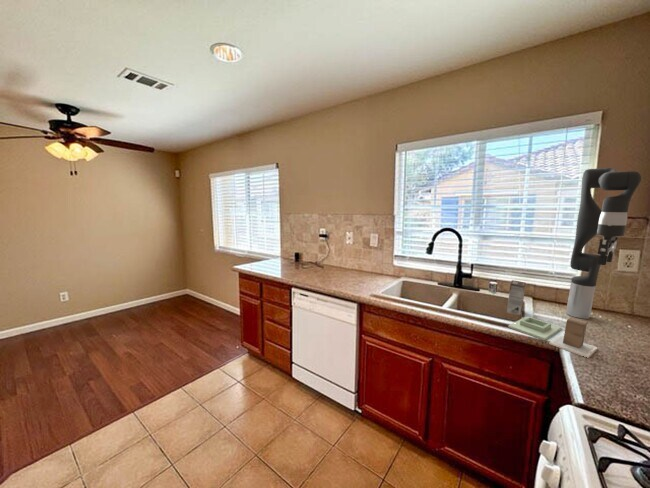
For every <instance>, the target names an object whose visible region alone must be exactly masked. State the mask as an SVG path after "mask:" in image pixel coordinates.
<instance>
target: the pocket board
mask: <svg viewBox="0 0 650 488" xmlns="http://www.w3.org/2000/svg"><path fill="white" fill-rule="evenodd" d="M514 323H516V324H514ZM507 328H508V329H512V330H515V331H517V332H520V333H522V334H525V335H529V336H530V337H534V338H537V339H539V340H543V341H546V340H548V339H549V338H551V337H552V336H554V335H555V334H556V333H558V332H559V331H561V330H562V329H563V328H562V326H559V325H557V324H554V323H550V322H546V321H544V320H540V319H537V318H534V317H531V316H528V315H526V316H523V317H522V318H519V320H515V321H514V322H512V323H510V324H508V326H507Z"/></svg>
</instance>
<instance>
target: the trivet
mask: <svg viewBox="0 0 650 488" xmlns="http://www.w3.org/2000/svg"><path fill="white" fill-rule="evenodd" d="M563 339H564V335H563V334H562V335H561V334H559V335H557V336H555V338H553V339H551V340H550V341H549V343H548V344H549V345H550V346H554V347H557V348H559V349H562V350H565V351H567V352H570V353H572V354H575V355H578V356H581V357H583V356H584V357H585V358H586V357H587V359H589V358H591V356H593V354H594V353H595V352H597V350H598V347H597V346H595V345H591V344H589V343H586V342H583V346H582V347H580V348H579V349H578V348H576V347H573V346H570V345H567V344H564V343H563Z"/></svg>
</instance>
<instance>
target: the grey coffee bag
mask: <svg viewBox="0 0 650 488" xmlns="http://www.w3.org/2000/svg"><path fill="white" fill-rule="evenodd" d="M509 285H510V286H509V294H508V300H507V307H506V308H507V309H506V313H508V314H512V315H516V316H522V312H523V305H524V298H525V293H526V282H523V281H521V280H520V281H519V280H513V279H511V282H510V284H509Z"/></svg>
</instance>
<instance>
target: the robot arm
mask: <svg viewBox="0 0 650 488" xmlns="http://www.w3.org/2000/svg"><path fill="white" fill-rule="evenodd" d="M641 181H642V175H641V173H639V172H638V171H635V170H633V171H632V170H631V171H617V170H616V169H615V168H614V167H613V168H612V167H602V168H601V167H600V168H598V167H597V168H587V169H585V170H584V171H583V173H582V179H581V190H580V191H581V192H580V203H579V208H578V215H577V220H576V231H575V238H574V245H573V249H572V252H571V258H570V265H569V266H570V268H571V269H572V270H575V271H581V272H588V273H587V274H586V275H585V274H583V275H576V276H573V277H571V280H570V281H571V282H570V286H569V287H570V288H569V292H568V299H567V304H566V311H565V314H566V315H568V316H571V317H572V318H576V319H582V320H584V319H585V320H587V319H590V318H591V313H592V309H593V308H592V307H593V302H594V297H595V292H596V286H597V281H598V278H599V277H598V276H599V272H600V268H601V266H606V265H607V263H612V261H613V258H614V253H615V252H616V250H617V244H618V239H619V237H624V236H625V233H626V227H627V224H628V211H629V206H630V202H631V199H632V197H633V195H634V193H635V191H636V190H637V188H638V187H639V185H640V183H642V182H641ZM591 189H601V190H602V191H622V193H620V194H618V195H614V196H613V195H612V196H609V197H607V196H606V197H605V198H604V199H603V201H602V206H601V208H600V206H599V205H598V204H597V202H596V201H595V199H594V198H593V196H592V190H591ZM597 235H598V236H603V237H602V238H600V239H599V245H598V251H597V254H594V253H586V252H583V249H584V248H585V246H586V245H587V244H588V242H590V241H591V240H592V239H593V238H595V236H597Z"/></svg>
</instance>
